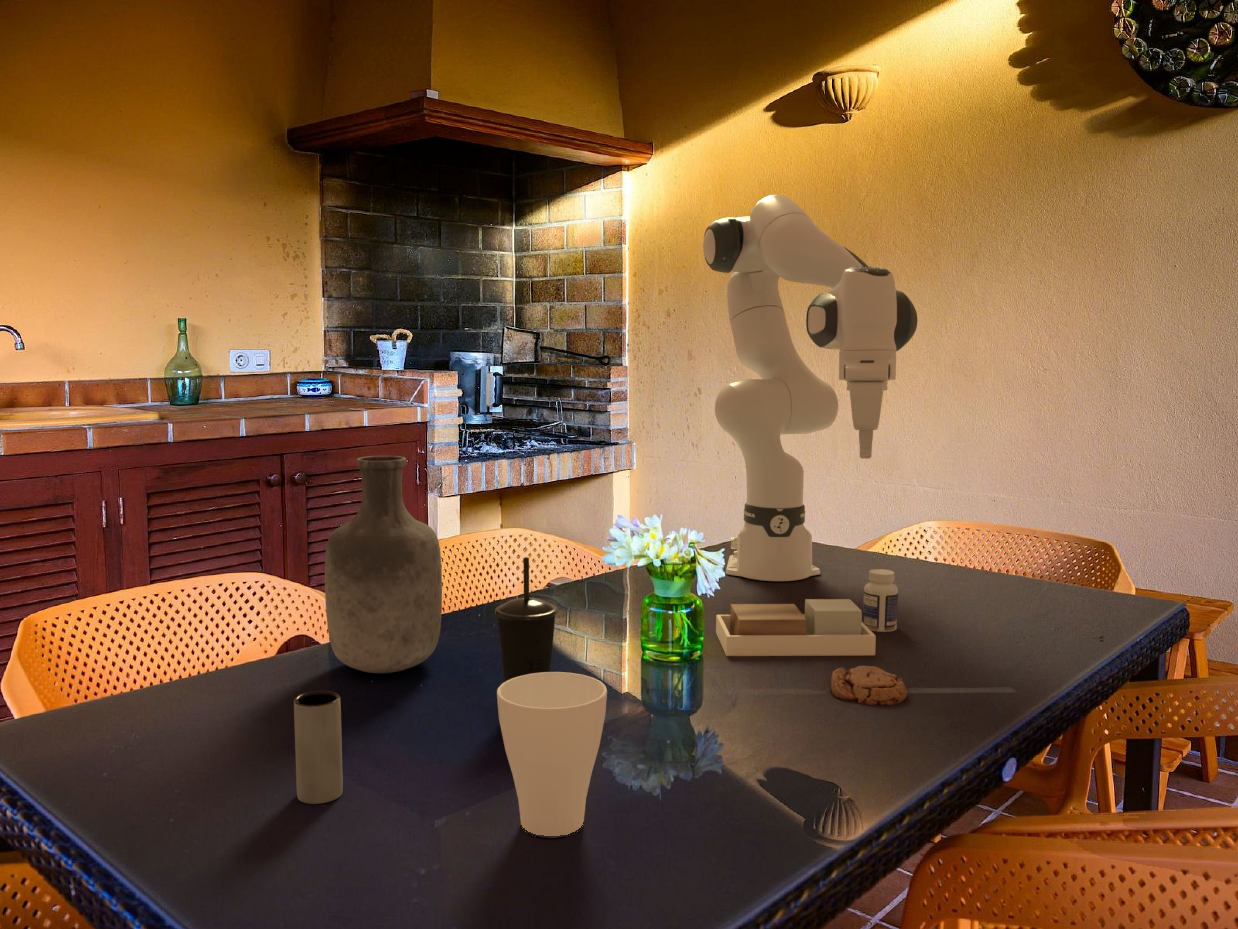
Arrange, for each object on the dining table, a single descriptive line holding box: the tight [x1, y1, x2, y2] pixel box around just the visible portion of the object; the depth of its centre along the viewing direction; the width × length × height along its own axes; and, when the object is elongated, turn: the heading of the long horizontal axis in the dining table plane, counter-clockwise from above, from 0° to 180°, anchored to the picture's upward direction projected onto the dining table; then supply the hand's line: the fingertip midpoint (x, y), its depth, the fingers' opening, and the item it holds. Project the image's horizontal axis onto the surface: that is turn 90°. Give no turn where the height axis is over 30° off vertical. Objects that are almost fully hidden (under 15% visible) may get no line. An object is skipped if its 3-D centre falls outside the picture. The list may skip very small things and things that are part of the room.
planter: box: [293, 690, 344, 805], centre depth 105 cm, size 4×4×10 cm
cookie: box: [830, 665, 908, 706], centre depth 138 cm, size 10×11×3 cm
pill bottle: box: [862, 568, 899, 633], centre depth 166 cm, size 5×5×10 cm
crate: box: [715, 613, 877, 657], centre depth 157 cm, size 12×22×4 cm, turn 92°
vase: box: [324, 455, 443, 674], centre depth 144 cm, size 16×16×30 cm
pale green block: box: [804, 598, 863, 635], centre depth 157 cm, size 7×7×6 cm
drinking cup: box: [494, 556, 559, 683], centre depth 127 cm, size 8×8×20 cm
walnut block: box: [729, 603, 807, 635], centre depth 157 cm, size 9×10×5 cm
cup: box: [496, 671, 608, 836], centre depth 99 cm, size 10×10×14 cm
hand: (865, 455), depth 165 cm, fingers open, 8 cm apart
